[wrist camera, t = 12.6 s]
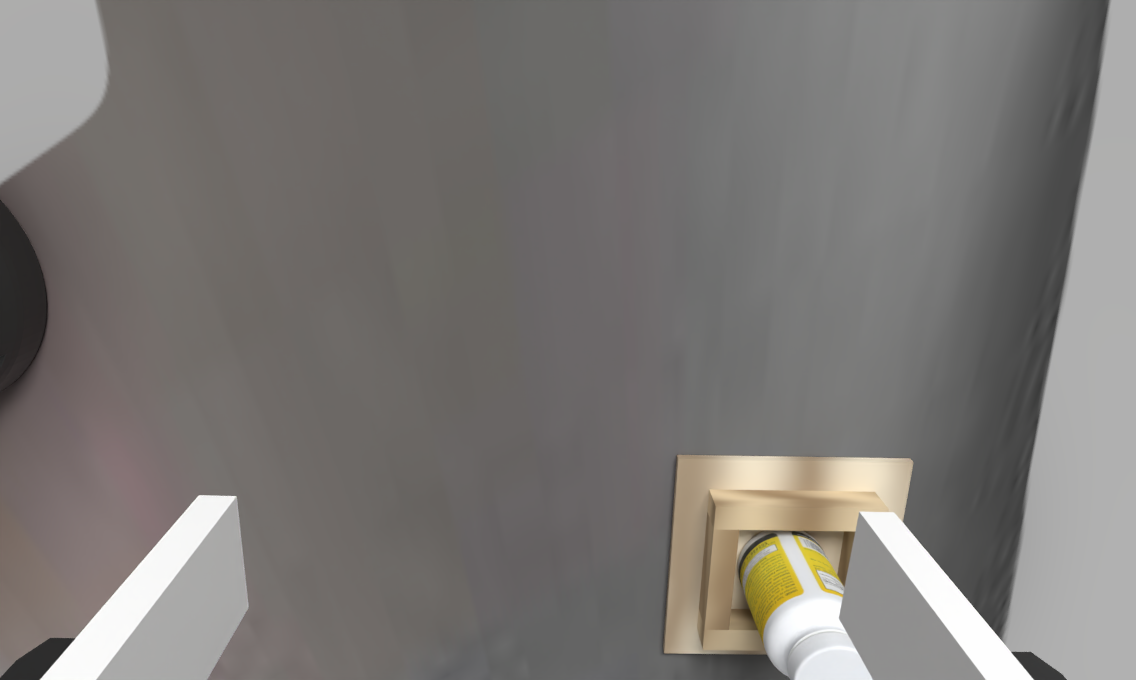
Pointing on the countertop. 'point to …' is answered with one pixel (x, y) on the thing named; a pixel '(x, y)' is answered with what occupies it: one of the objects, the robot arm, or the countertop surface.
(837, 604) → the supplement bottle
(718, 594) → the beige square tray
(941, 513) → the countertop surface
